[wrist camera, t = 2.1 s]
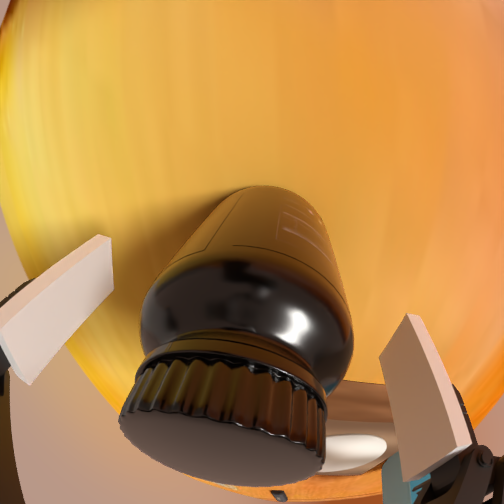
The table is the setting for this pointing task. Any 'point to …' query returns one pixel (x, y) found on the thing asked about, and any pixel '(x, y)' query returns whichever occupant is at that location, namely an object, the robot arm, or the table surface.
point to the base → (358, 429)
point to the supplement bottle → (243, 346)
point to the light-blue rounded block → (398, 483)
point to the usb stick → (279, 495)
